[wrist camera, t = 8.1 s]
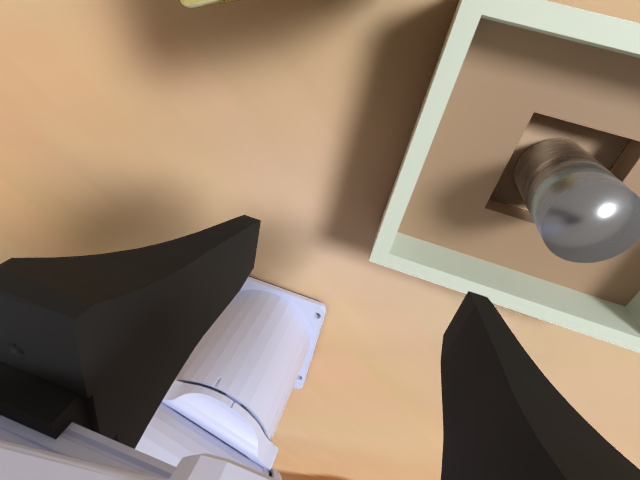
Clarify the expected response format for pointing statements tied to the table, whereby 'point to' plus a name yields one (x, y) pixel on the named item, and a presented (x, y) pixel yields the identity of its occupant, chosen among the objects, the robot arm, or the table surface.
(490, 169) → the box
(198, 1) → the flower pot
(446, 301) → the table surface
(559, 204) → the peg
